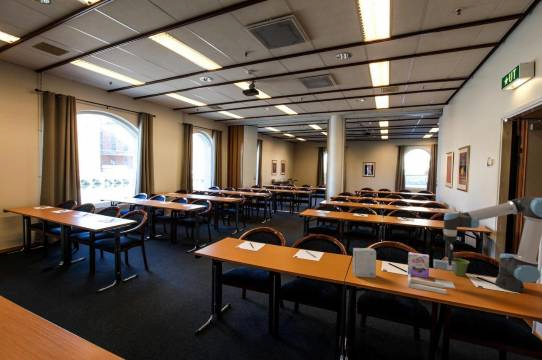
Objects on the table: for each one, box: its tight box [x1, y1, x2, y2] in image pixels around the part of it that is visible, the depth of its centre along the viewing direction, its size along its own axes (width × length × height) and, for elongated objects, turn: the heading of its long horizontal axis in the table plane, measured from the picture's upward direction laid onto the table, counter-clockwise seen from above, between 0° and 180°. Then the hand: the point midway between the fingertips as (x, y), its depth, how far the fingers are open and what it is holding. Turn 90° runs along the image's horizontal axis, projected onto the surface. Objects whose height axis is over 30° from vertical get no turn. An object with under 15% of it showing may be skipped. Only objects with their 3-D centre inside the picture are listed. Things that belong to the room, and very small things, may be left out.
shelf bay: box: [407, 273, 447, 295], centre depth 177 cm, size 22×11×5 cm, turn 64°
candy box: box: [407, 251, 430, 279], centre depth 198 cm, size 14×6×16 cm, turn 62°
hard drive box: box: [352, 247, 377, 279], centre depth 196 cm, size 16×8×20 cm, turn 84°
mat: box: [434, 278, 457, 290], centre depth 183 cm, size 11×11×1 cm
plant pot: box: [452, 257, 470, 277], centre depth 200 cm, size 12×12×11 cm
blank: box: [432, 258, 456, 272], centre depth 180 cm, size 12×4×5 cm, turn 68°
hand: (448, 268), depth 179 cm, fingers closed on blank, 5 cm apart
